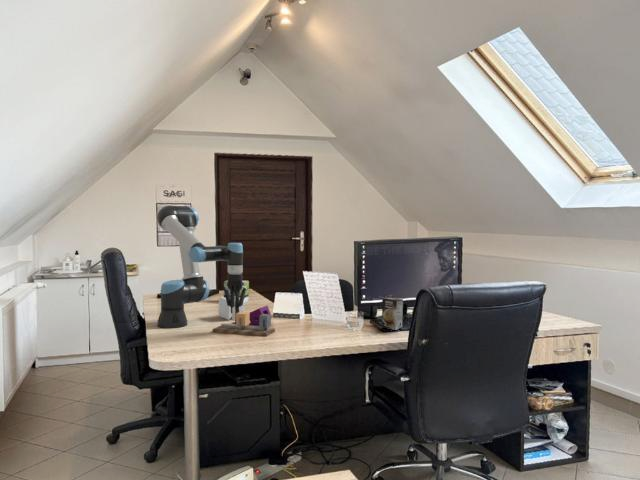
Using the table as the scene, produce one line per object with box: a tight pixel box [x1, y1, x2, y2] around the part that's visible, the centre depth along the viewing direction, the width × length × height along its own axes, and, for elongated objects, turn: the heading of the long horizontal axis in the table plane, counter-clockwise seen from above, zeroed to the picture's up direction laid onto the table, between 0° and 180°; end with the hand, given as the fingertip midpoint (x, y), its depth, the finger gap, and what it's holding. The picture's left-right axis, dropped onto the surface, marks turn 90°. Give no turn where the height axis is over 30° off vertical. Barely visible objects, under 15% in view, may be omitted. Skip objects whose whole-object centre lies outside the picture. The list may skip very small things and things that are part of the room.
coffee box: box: [381, 296, 404, 330], centre depth 253 cm, size 9×6×16 cm
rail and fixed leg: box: [220, 314, 272, 331], centre depth 243 cm, size 26×6×8 cm, turn 74°
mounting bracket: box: [234, 305, 272, 326], centre depth 262 cm, size 10×9×19 cm
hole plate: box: [211, 325, 276, 337], centre depth 243 cm, size 29×11×2 cm, turn 74°
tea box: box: [223, 279, 250, 303], centre depth 334 cm, size 15×10×15 cm
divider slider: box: [235, 311, 251, 329], centre depth 243 cm, size 5×6×7 cm
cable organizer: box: [218, 296, 246, 321], centre depth 278 cm, size 15×11×12 cm
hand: (234, 319), depth 245 cm, fingers closed
